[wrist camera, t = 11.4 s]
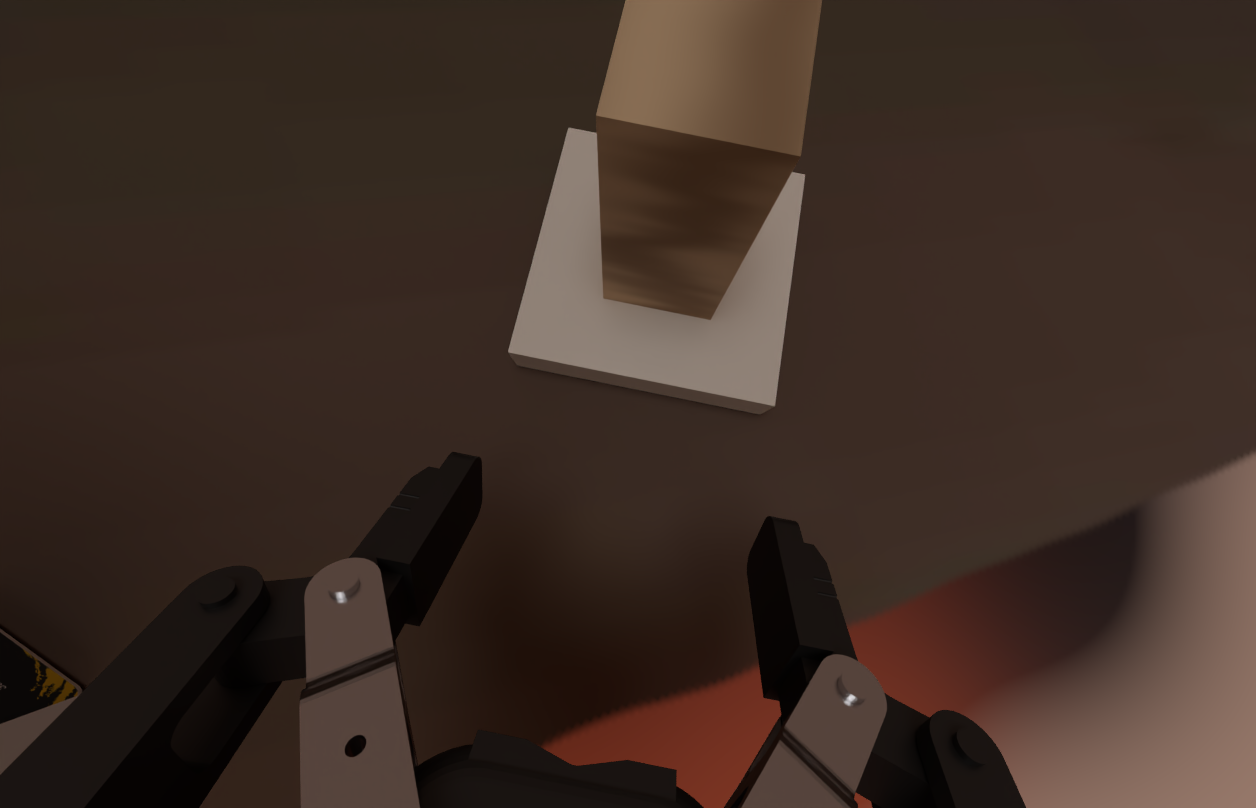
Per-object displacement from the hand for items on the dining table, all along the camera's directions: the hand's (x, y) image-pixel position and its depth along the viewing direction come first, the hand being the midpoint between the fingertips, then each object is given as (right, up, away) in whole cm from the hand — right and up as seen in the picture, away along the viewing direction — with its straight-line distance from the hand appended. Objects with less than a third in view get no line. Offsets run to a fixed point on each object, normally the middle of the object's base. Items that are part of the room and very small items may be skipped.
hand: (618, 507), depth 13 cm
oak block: (+2, +10, +9) cm, 13 cm away
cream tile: (+2, +9, +11) cm, 14 cm away
